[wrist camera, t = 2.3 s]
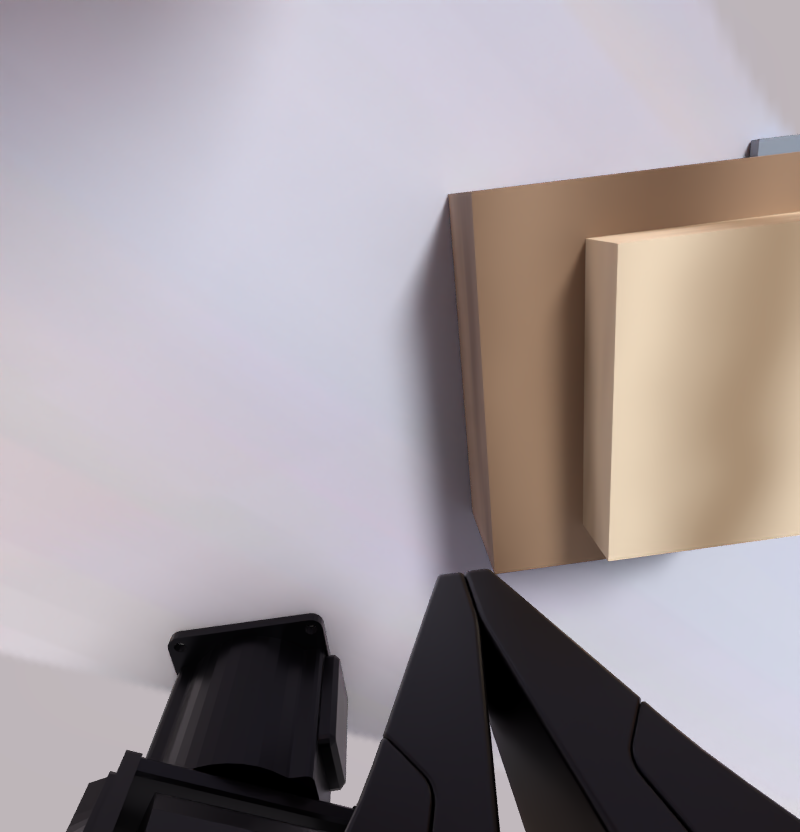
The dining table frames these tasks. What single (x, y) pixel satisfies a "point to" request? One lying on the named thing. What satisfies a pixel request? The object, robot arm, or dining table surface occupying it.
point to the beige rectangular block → (692, 386)
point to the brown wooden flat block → (561, 330)
